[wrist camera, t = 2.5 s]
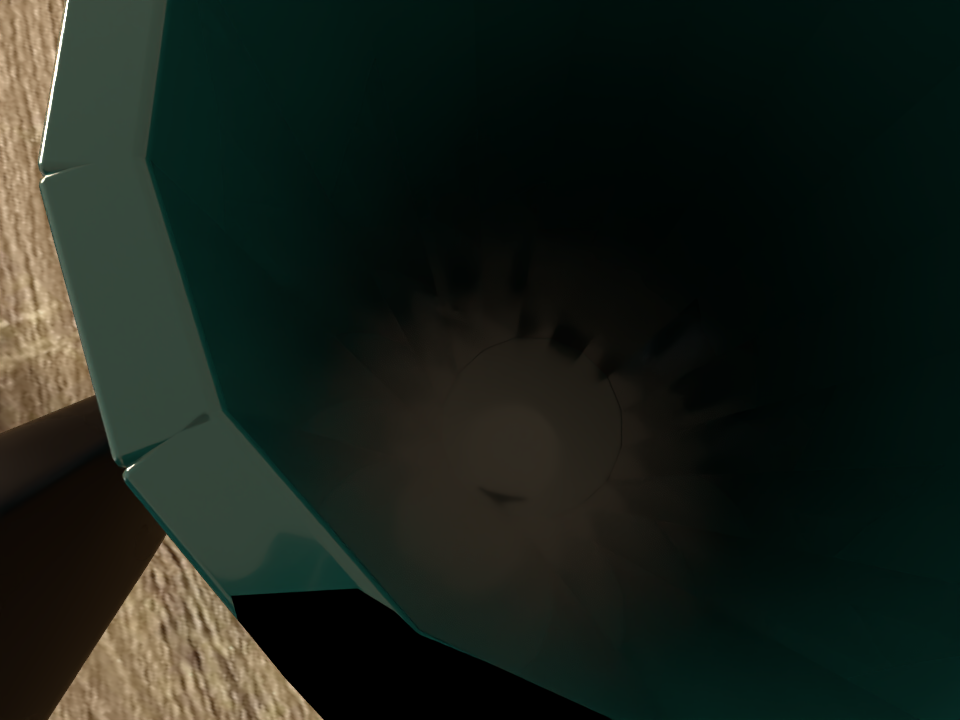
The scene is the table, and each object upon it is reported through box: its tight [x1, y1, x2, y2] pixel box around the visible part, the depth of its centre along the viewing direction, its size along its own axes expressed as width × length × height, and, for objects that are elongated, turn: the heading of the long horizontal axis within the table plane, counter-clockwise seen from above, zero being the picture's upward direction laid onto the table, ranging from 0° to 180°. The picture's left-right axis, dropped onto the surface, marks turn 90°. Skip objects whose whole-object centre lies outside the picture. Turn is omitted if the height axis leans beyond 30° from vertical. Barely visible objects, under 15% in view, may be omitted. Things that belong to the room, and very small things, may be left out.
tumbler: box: [38, 0, 960, 720], centre depth 10 cm, size 6×6×16 cm
